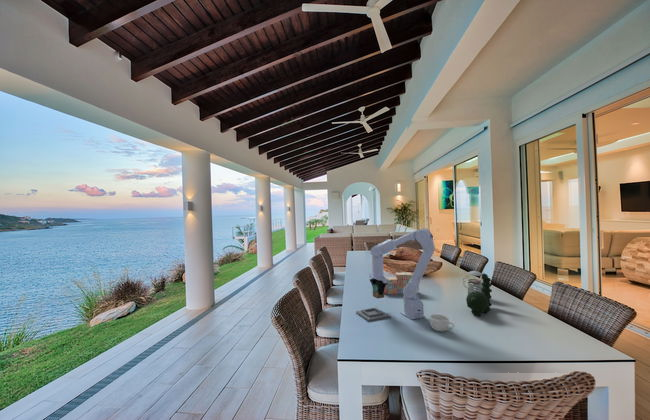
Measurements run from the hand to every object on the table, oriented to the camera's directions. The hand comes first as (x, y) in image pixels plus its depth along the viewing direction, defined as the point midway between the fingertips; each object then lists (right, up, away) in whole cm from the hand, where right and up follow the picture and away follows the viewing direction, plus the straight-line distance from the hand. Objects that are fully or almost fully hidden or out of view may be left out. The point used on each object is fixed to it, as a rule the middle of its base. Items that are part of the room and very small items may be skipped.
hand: (378, 293), depth 148 cm
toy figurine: (+51, -8, -6) cm, 52 cm away
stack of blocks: (+19, -8, +29) cm, 36 cm away
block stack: (0, -2, 0) cm, 2 cm away
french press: (+60, -7, +17) cm, 63 cm away
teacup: (+23, -8, -27) cm, 36 cm away
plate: (-5, -9, -8) cm, 12 cm away
